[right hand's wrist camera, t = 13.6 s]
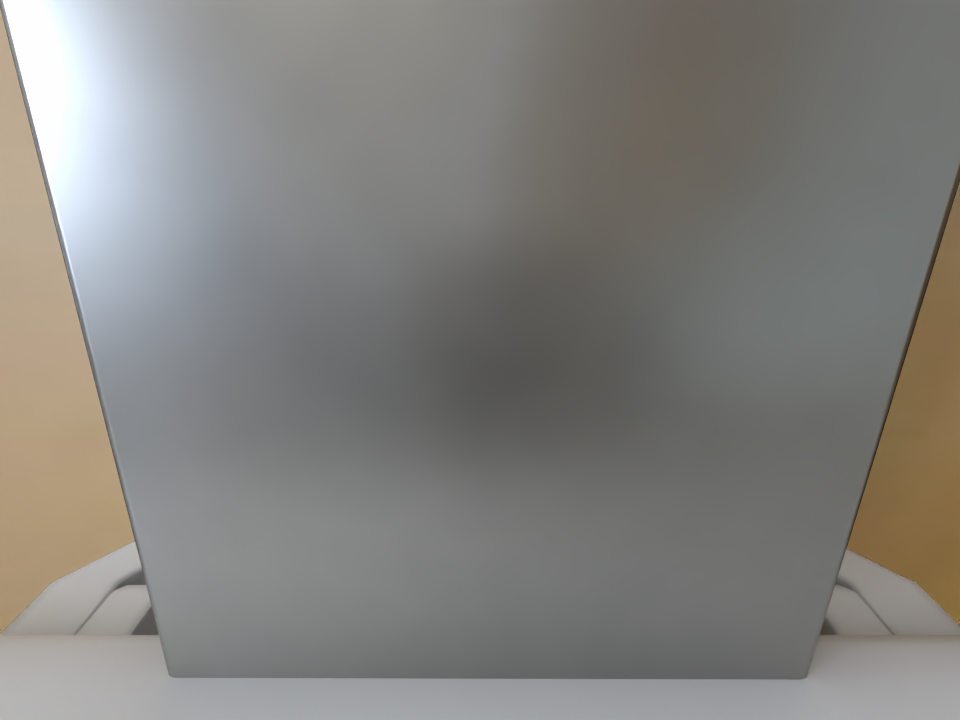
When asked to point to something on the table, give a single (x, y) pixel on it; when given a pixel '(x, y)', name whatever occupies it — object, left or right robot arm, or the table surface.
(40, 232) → the table surface
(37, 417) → the table surface
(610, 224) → the bar
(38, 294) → the table surface
